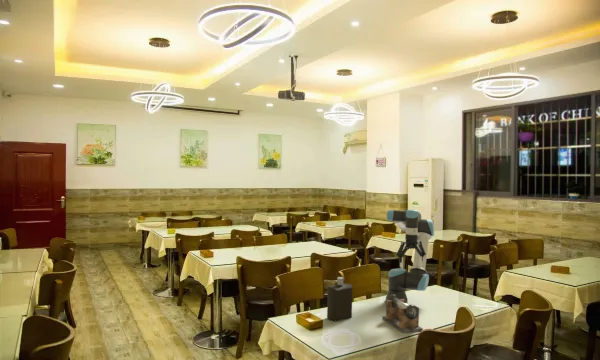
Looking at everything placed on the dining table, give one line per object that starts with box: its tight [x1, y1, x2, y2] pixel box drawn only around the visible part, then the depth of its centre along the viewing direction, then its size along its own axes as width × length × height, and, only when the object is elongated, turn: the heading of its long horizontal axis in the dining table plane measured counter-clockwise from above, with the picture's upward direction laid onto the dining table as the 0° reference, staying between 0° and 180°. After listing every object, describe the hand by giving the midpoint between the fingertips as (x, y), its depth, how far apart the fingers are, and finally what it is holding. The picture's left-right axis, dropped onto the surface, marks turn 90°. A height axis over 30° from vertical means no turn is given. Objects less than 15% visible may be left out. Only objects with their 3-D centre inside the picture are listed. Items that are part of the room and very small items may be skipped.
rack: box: [381, 299, 424, 334], centre depth 253 cm, size 13×24×12 cm, turn 18°
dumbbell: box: [387, 294, 420, 319], centre depth 253 cm, size 8×23×8 cm, turn 18°
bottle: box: [326, 276, 353, 322], centre depth 262 cm, size 8×16×25 cm, turn 127°
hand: (410, 266), depth 270 cm, fingers open, 13 cm apart
